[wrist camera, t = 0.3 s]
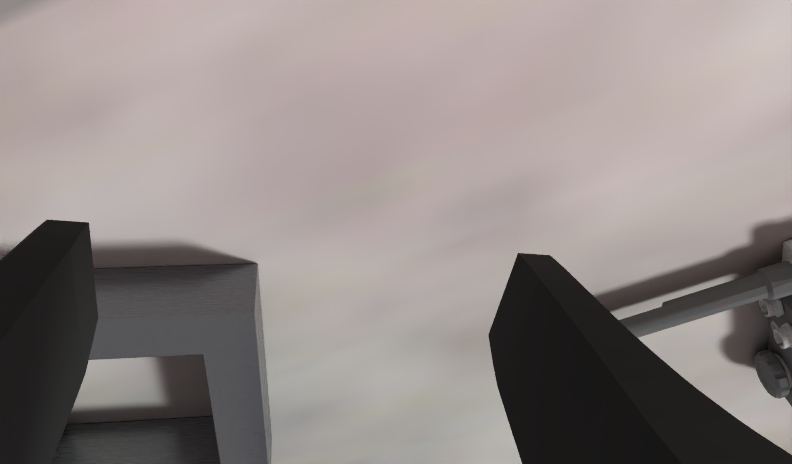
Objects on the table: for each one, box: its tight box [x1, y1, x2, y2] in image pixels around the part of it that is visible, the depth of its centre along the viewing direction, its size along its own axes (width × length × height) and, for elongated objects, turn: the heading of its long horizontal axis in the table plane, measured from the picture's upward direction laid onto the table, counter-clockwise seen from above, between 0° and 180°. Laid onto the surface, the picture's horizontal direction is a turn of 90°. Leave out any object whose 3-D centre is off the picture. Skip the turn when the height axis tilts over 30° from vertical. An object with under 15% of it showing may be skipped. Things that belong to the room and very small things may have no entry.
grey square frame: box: [51, 264, 272, 464], centre depth 25 cm, size 10×10×2 cm
